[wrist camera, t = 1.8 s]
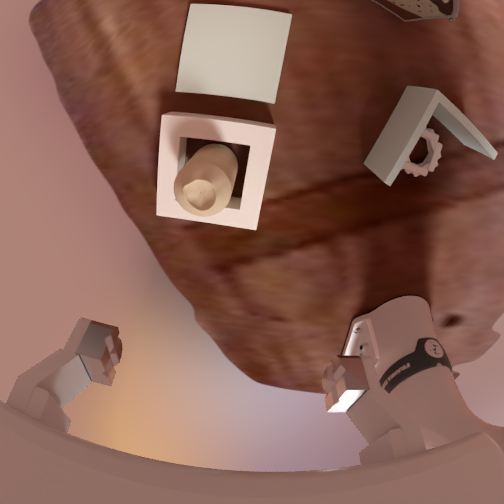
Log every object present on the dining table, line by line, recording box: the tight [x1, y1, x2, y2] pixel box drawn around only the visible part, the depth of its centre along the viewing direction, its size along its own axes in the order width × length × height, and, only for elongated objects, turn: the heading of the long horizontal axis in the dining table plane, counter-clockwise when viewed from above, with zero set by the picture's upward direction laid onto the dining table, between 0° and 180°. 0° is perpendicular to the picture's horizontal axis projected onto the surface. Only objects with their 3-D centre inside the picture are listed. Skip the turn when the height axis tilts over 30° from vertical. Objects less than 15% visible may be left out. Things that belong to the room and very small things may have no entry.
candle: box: [174, 143, 238, 217], centre depth 29 cm, size 6×6×10 cm
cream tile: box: [176, 4, 292, 104], centre depth 25 cm, size 11×11×1 cm
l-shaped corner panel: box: [363, 86, 498, 186], centre depth 28 cm, size 12×12×8 cm
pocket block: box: [157, 111, 276, 230], centre depth 32 cm, size 12×12×4 cm
